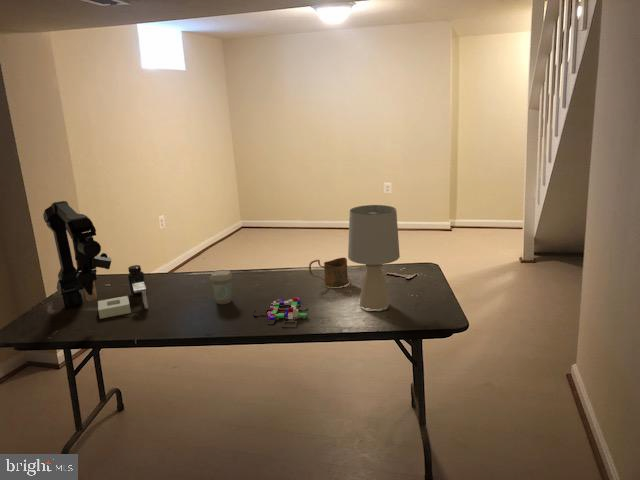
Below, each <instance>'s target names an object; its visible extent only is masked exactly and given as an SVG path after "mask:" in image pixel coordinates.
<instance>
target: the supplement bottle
mask: <svg viewBox="0 0 640 480" xmlns="http://www.w3.org/2000/svg"><path fill="white" fill-rule="evenodd" d="M127 269H128V273H127V277H126V278H127V284H128V291H129V295H130V296H131V297H142V292H137V293H134V290H133V286H132V284H134V283H140V282H144V284H145V287H146V294H147V292H148V289H147V283H146V277H145V273H144V272H143V271H142V268H141V265H140V264H139V265H138V264H134V265H130V266H129V267H128V268H127Z"/></svg>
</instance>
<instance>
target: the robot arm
mask: <svg viewBox="0 0 640 480" xmlns="http://www.w3.org/2000/svg"><path fill="white" fill-rule="evenodd" d="M42 216H43V221H44V222H45V224H46V227H47V228H49V229H50V231H51V232H52V233H53V238H54V241H55V242H54V243H55V247H56V251H57V252H56V253H57V256H58V260H59V261H58V262H59V265H60V269H59V271H58V274H57V277H58V278H57V279H58V280H57V283H56V290H57V293H58V294H59V295H60V296H62V300H63V306H64V307H63V310H68V309H73V308H74V309H75V308H79V307H80V308H81V307H82V306H83V304H84V298H83V293H82V291H83V290H84V291H85V290H86V291H87V293H88V294H89V295H92V293H93V281H94V282H95V281H97V279H98V275H97V268H99V269H105V270H110V268H111V264H112V258H111V257H110V256H109V257H108V254H107V253H106V252H101V251H102V246H101V245H100V243H99V242H98V241H97V240H95V239H94V236H97V233H96V232H97V230H96V227H95V226H94V223H93V221H92V220H91V218H89V217H88V216H87V215H85V214H83V213H78V212H76V211H75V210H74V209H73V208H72V207H71V206H70V205H69V203H68V201H67V200H66V201H65V200H61V201H55V202H52V203H51V205H50V206H49V207H47V208H45V209H44V210H43V214H42ZM68 235H69V236H70V239H71V241H72V246H73V250H74V251H73V252H74V259H75V261H76V267H75V265H74V261H73V256H72V252H71V247H70V246H71V245H70V243H69V238H68V237H69V236H68ZM100 253H101V254H100ZM99 254H100V255H99ZM81 290H82V291H81Z"/></svg>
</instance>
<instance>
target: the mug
mask: <svg viewBox="0 0 640 480" xmlns="http://www.w3.org/2000/svg"><path fill="white" fill-rule="evenodd" d="M316 262H317V264H318V265H319V267H321V268H322V269H323V268H324V269H323V270H324V272H323V273H324V278H322V277H321V276H319V275H315V274H313V272H312V264H314V263H316ZM320 262H321V261H320V259H315V260H311V261H310V263H309V264H308V269H309V273H310V275H311V276H313V277H315V278H318V279H320V280H322V281H323V282H322V285H323V284H324V285H325V286H329V287H340V286H344V285H346V284H348V283H349V281H350V280H349V277H348V259H347V258H346V257H339V258H335V259H331V260H329V261H325V262H323V265H321V263H320Z"/></svg>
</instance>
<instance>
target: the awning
mask: <svg viewBox="0 0 640 480" xmlns="http://www.w3.org/2000/svg"><path fill="white" fill-rule="evenodd" d="M132 286H133V290H134V293H137V292H142V295H141V298H142V303H143V307H144V309H145V310H147V309H149V304H148V298H147V293H146V288H147V286H146V287H145V284H144V282H140V283H134V284H132Z"/></svg>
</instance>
